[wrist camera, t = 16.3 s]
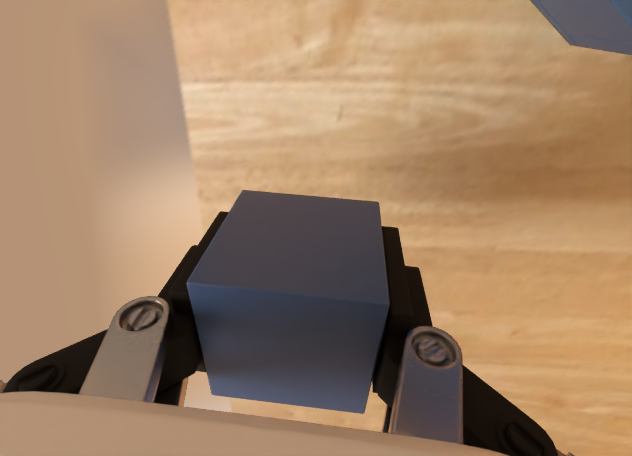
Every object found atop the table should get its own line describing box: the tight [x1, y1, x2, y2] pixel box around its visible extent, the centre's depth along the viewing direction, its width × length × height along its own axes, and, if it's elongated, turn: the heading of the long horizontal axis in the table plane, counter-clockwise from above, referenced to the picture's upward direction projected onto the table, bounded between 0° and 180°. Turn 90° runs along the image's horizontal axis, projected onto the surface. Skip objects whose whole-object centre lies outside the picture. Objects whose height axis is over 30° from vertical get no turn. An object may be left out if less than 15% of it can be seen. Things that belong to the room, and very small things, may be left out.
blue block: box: [187, 190, 390, 414], centre depth 10 cm, size 4×4×4 cm
